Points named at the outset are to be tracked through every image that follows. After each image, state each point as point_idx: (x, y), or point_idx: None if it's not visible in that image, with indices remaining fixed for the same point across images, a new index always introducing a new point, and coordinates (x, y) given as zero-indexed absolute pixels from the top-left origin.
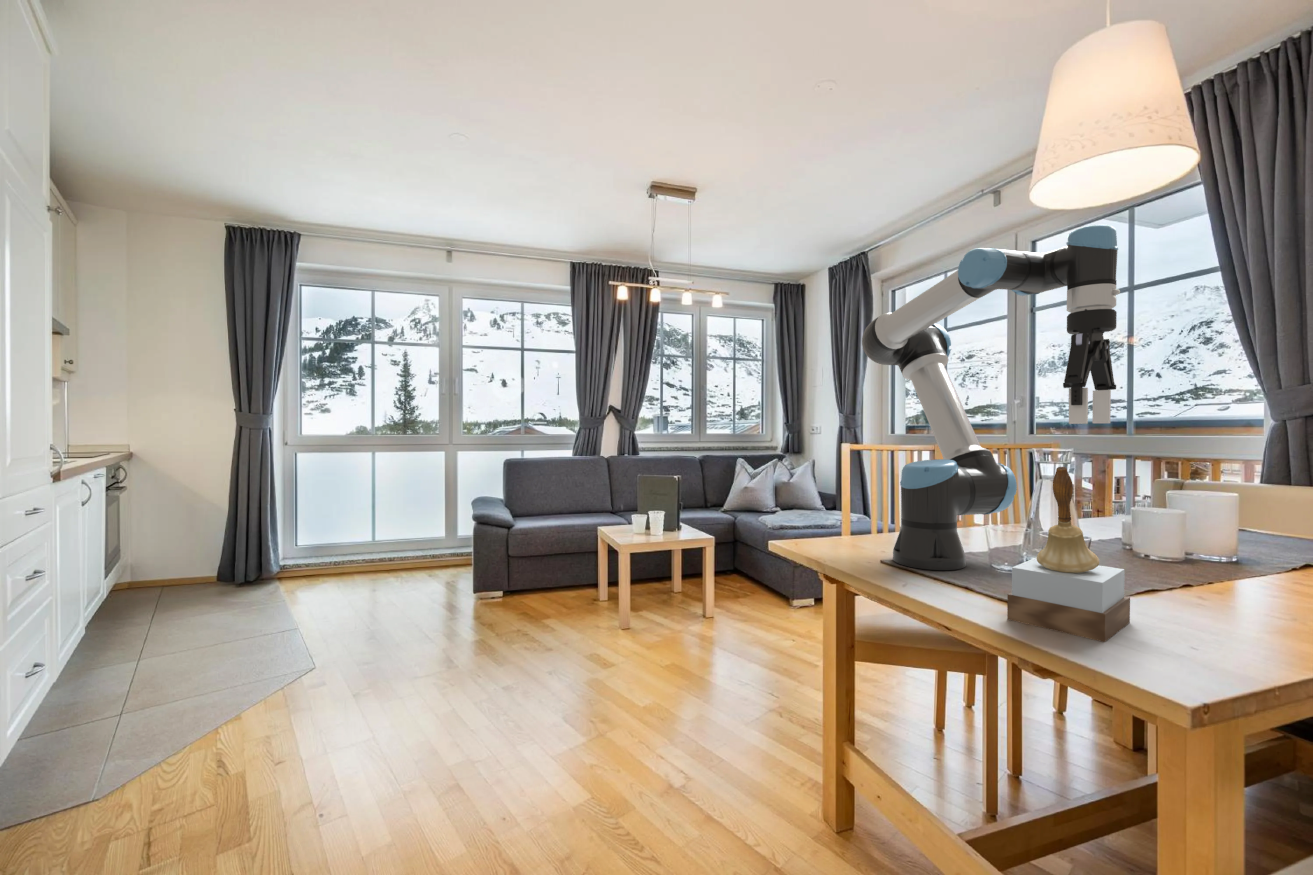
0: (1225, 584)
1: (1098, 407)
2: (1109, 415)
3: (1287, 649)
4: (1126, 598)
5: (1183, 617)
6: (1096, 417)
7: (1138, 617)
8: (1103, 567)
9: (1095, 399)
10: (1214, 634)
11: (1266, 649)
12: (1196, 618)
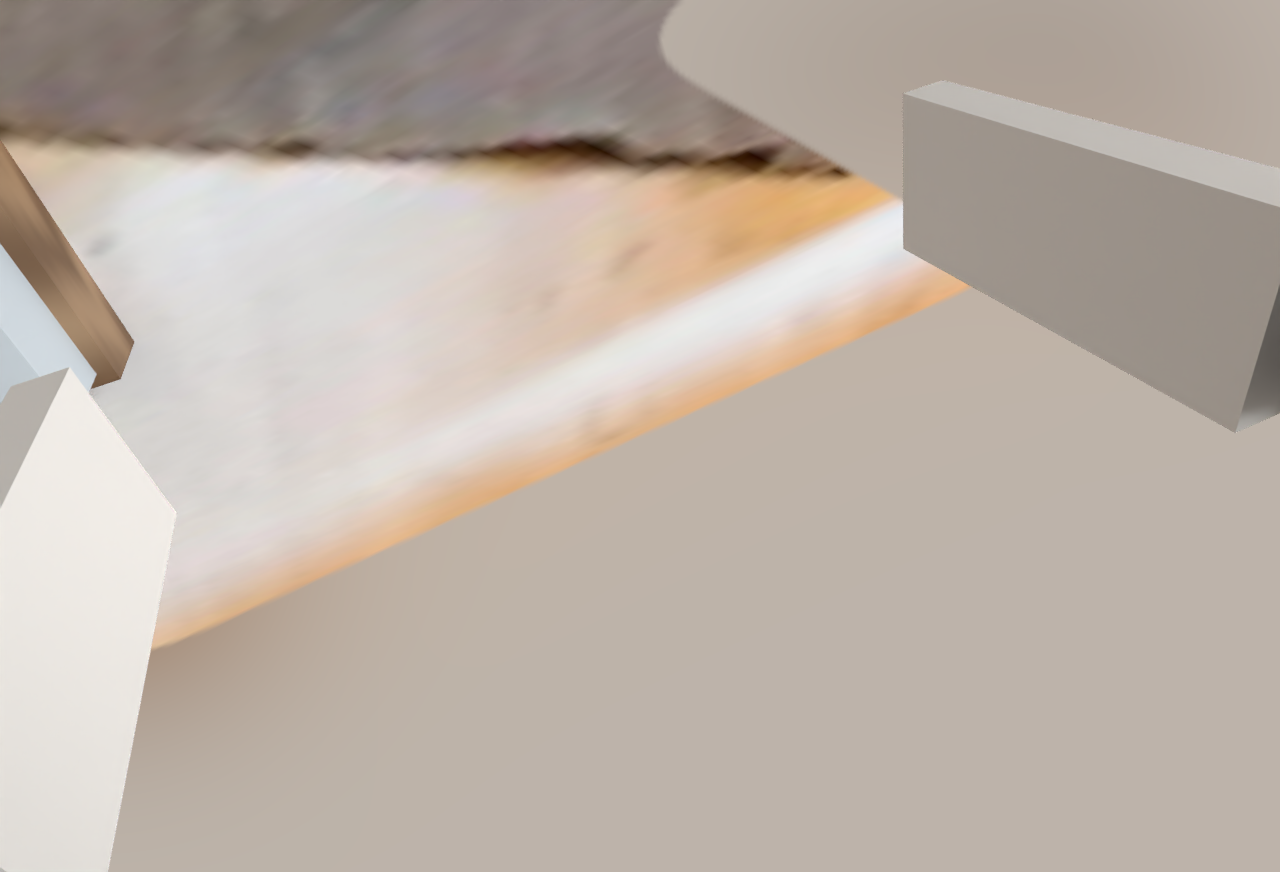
0: (856, 198)
1: (1037, 207)
2: (967, 275)
3: (335, 551)
4: (92, 384)
5: (360, 356)
6: (947, 150)
7: (219, 317)
8: (9, 383)
9: (1143, 204)
10: (282, 461)
11: (287, 544)
12: (387, 371)
